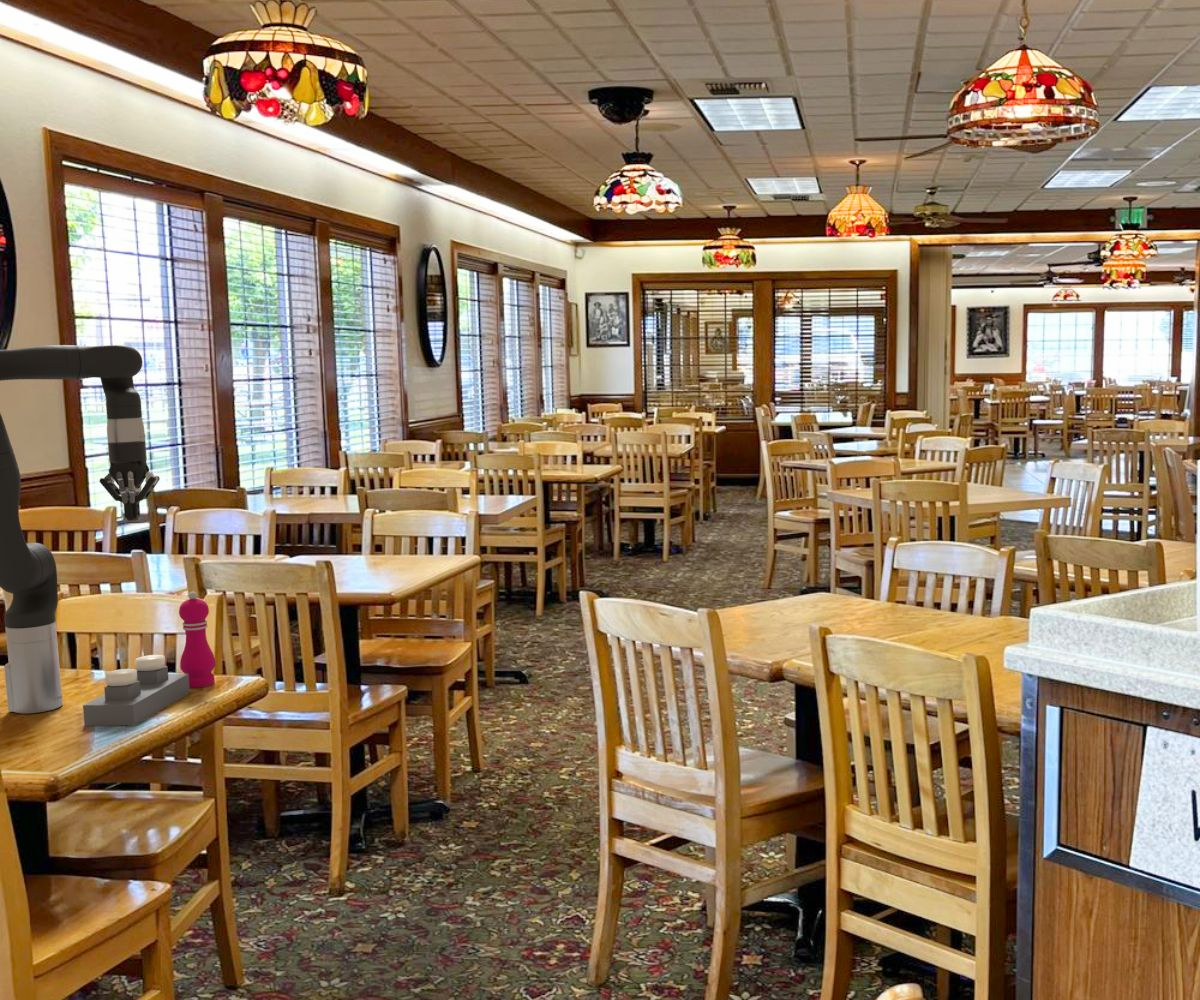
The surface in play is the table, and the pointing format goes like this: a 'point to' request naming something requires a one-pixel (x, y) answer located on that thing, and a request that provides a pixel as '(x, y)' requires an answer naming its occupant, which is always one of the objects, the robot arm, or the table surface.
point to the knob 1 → (121, 677)
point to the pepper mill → (196, 643)
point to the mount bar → (136, 699)
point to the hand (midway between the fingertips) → (132, 520)
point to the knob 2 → (150, 662)
